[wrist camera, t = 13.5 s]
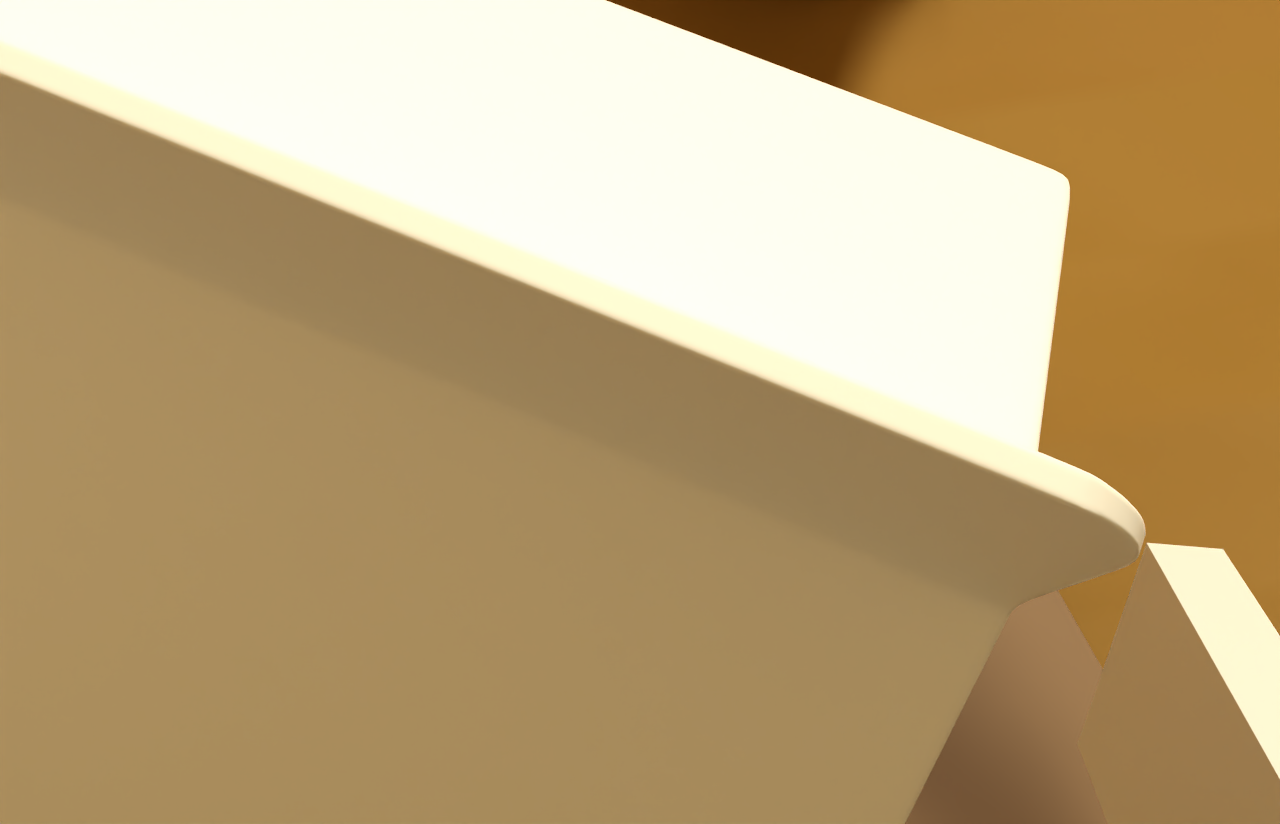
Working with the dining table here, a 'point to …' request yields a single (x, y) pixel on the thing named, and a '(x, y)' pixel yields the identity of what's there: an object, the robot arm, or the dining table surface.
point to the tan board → (1021, 730)
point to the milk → (503, 421)
